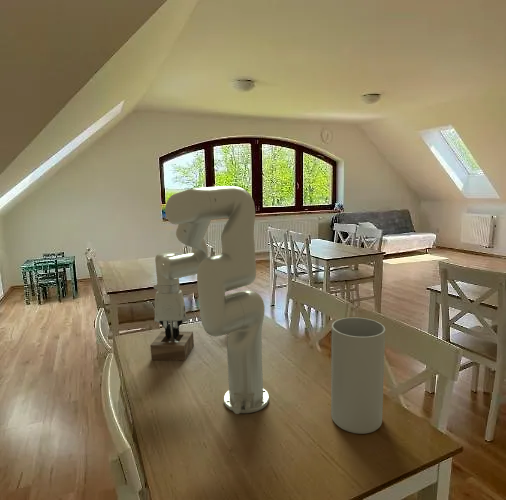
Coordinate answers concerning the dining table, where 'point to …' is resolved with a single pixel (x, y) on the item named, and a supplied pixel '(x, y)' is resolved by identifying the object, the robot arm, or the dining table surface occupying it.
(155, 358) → the socket block
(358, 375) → the cylinder vase
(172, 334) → the screw
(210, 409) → the dining table surface
